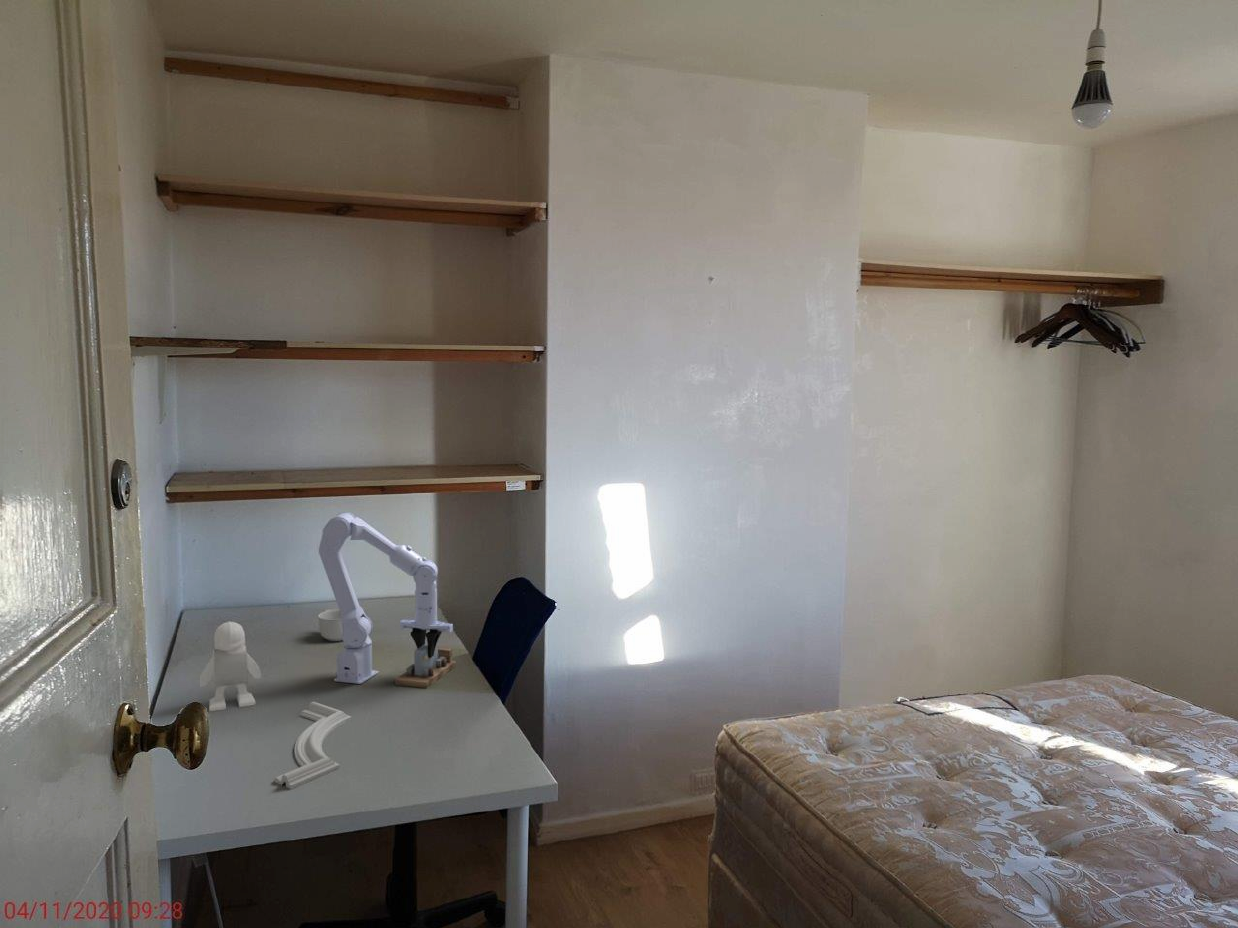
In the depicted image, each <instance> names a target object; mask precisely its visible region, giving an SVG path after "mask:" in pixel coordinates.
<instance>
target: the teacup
mask: <svg viewBox="0 0 1238 928" xmlns="http://www.w3.org/2000/svg"><path fill="white" fill-rule="evenodd" d="M317 618H318V626H319V628H318V629H319V632H320V636H321V637H323V638H324V639H326V640H327V641H329V642H340V641H341V642H342V641H343V638H342V633H343V628H342V625H341V612H340V610H339V608H335V609H329V608H328V609H327V608H326V609H324V610H323V611H322V612H320V613H319V614H318V615H317Z"/></svg>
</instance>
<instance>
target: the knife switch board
mask: <svg viewBox="0 0 1238 928" xmlns="http://www.w3.org/2000/svg"><path fill="white" fill-rule="evenodd" d="M456 667H457V660H453V648H449V647H447V648H446V647H439V646H438V660H436V665H435V666H434V667H433V666H428V667H426V668H425V669H423V675H422V676H420V675H415V663H412V664H411V665H409V666H408V667H407V668H406V671H405V672H404V673H402V674H401V675H399V676H397V677H396V678H395V679H394V682H395V683H394V684H395V685H396V686H404V687H412V688H413V687H414V688H425V689H427V688H429V687H431V686H432V685H433V684H434V683H436V682H437V681H438V680H440V679H441V678H443V677H444V676H445V675H446V674H448V673H449V672H450V671H451V670H453V669H454V668H456Z"/></svg>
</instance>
